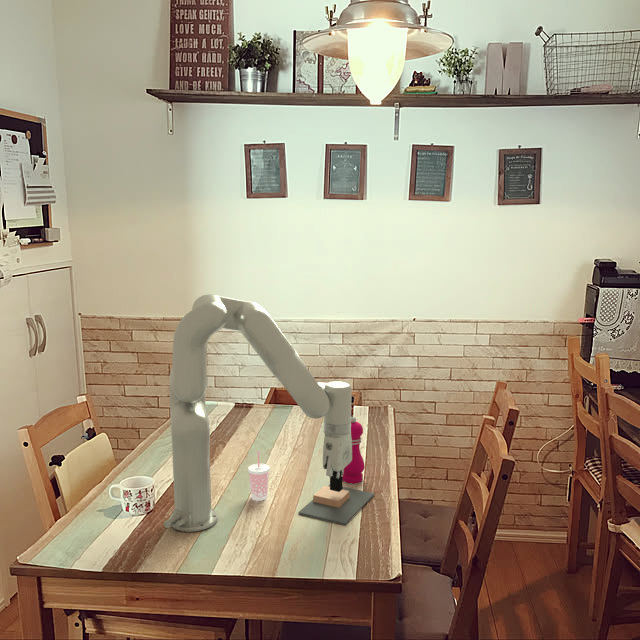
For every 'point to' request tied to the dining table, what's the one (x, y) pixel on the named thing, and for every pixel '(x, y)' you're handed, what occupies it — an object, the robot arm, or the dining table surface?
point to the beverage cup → (258, 480)
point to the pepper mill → (355, 456)
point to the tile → (331, 497)
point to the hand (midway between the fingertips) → (336, 489)
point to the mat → (335, 513)
